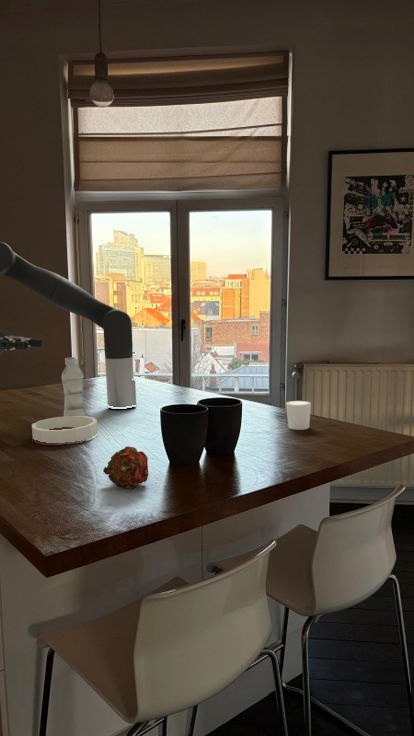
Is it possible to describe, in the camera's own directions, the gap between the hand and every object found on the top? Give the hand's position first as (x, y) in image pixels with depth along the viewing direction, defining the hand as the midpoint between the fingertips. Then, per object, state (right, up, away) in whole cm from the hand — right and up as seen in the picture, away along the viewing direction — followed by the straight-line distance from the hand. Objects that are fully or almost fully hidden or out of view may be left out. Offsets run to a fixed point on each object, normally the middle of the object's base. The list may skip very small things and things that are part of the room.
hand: (35, 344), depth 167 cm
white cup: (+77, -24, -11) cm, 81 cm away
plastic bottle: (+12, -24, +1) cm, 27 cm away
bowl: (+13, -26, -14) cm, 32 cm away
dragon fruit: (+35, -31, -54) cm, 71 cm away
